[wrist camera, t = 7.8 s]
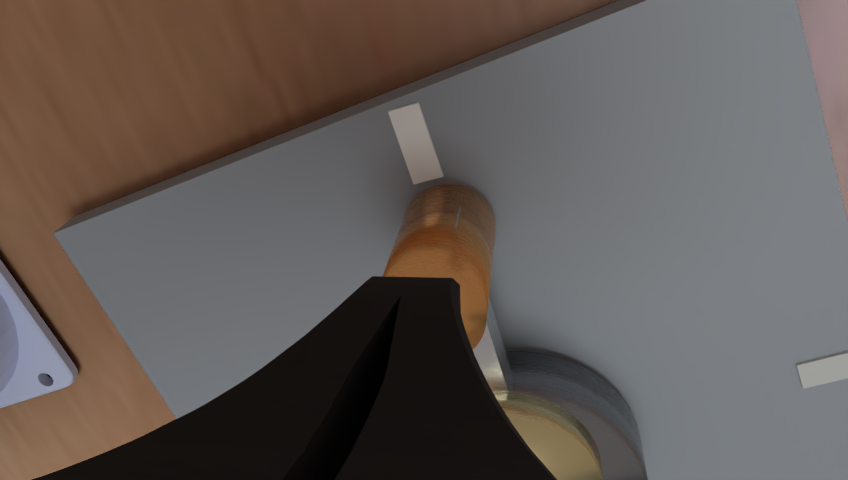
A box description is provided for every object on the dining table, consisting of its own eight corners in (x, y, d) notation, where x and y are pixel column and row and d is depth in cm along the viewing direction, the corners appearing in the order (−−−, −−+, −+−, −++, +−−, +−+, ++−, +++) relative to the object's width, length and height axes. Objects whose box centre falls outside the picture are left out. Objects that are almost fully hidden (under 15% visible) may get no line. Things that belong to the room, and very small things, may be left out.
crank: (660, 522, 24) (684, 654, 20) (440, 548, 25) (422, 674, 21) (574, 152, 19) (584, 231, 15) (309, 214, 21) (257, 300, 17)
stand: (380, 686, 31) (373, 718, 30) (75, 215, 23) (50, 235, 22) (925, 599, 26) (943, 635, 24) (768, -60, 18) (785, -54, 16)
